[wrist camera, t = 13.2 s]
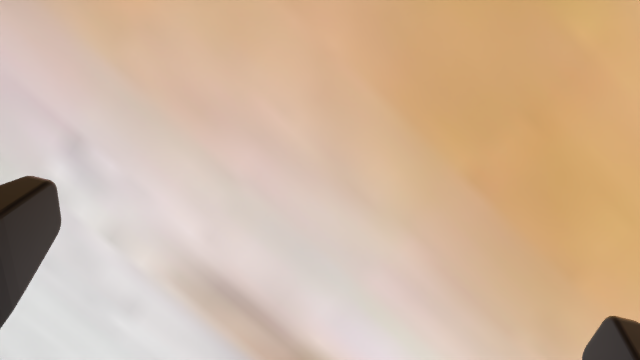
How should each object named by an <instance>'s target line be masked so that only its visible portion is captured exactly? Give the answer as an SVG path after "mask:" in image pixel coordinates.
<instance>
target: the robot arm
mask: <svg viewBox="0 0 640 360" xmlns="http://www.w3.org/2000/svg"><path fill="white" fill-rule="evenodd" d="M60 226H61V214H60V207H59V200H58V193H57V187H56V185H55V183H54V182H52V181H51V180H47V179H43V178H39V177H35V176H25V177H22V178H19V179H16V180H14V181H11V182H8V183H5V184H2V185H0V328H1V327H2V326H3V324H4V323H5V321H6V320H7V319H8V317H9V316H10V314H11V313H12V311H13V310H14V308H15V307H16V305H17V303H18V302H19V300H20V299H21V297H22V295H23V293H24V292H25V290H26V288H27V287H28V285H29V283H30V281H31V280H32V278H33V276H34V274H35V273H36V271H37V269H38V267H39V266H40V264H41V262H42V261H43V259H44V257H45V255H46V254H47V252H48V250H49V248H50V247H51V245H52V243H53V242H54V240H55V238H56V236H57V234H58V232H59V230H60ZM582 360H640V323H638V322H636V321H634V320H630V319H625V318H621V317H617V316H609V317H607V318H606V319H605V320H604V321H603V322H602V324H601V325H600V327H599V328H598V330H597V331H596V333H595V334H594V336H593V337H592V338H591V340H590V341H589V343H588V344H587V346H586V348H585V350H584V352H583V356H582Z"/></svg>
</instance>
